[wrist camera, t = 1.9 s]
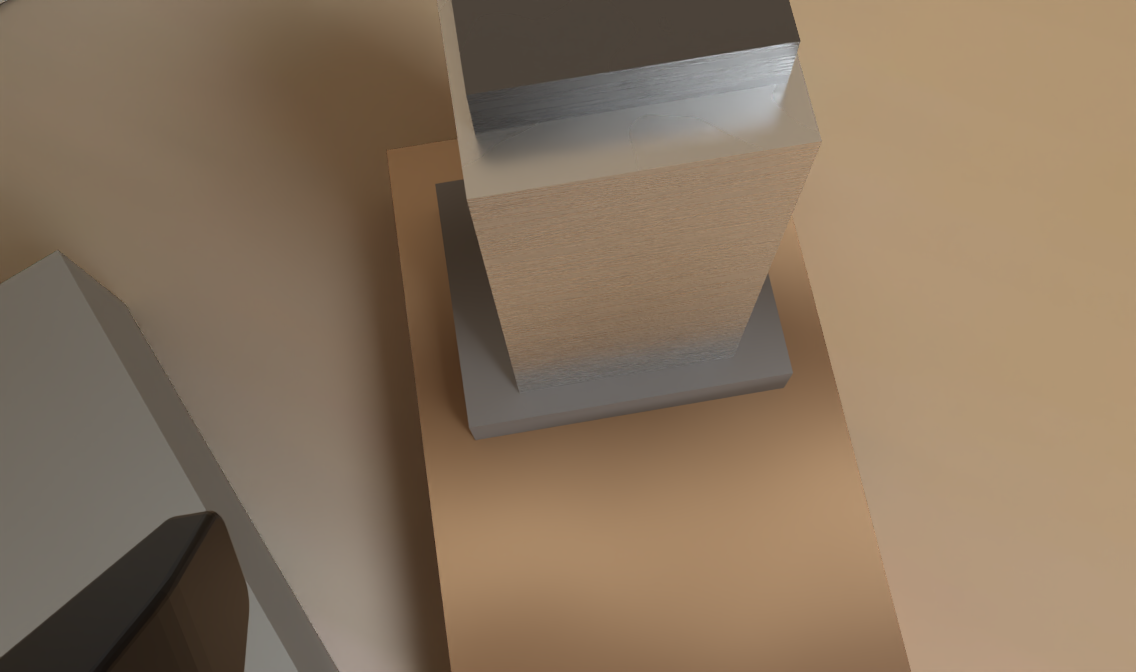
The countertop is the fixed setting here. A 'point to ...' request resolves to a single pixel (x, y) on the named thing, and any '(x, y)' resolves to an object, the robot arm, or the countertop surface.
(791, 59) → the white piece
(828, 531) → the tan wooden board
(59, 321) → the block
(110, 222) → the countertop surface
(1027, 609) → the countertop surface
